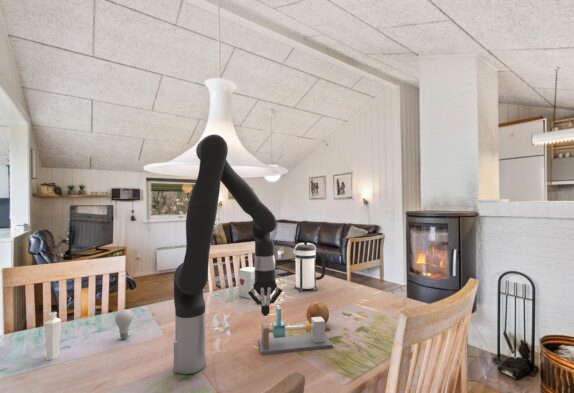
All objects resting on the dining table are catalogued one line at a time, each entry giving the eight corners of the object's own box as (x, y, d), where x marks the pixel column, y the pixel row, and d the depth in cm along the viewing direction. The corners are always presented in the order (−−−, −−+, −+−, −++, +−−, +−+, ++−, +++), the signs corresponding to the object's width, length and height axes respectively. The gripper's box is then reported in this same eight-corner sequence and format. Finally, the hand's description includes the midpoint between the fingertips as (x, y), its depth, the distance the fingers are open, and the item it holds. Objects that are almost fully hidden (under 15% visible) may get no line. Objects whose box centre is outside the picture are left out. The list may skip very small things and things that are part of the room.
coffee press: (312, 294, 167) (312, 241, 167) (288, 290, 175) (288, 239, 176) (325, 287, 181) (325, 238, 182) (303, 283, 190) (302, 236, 190)
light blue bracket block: (274, 338, 106) (274, 309, 106) (272, 332, 110) (272, 305, 110) (285, 337, 107) (284, 308, 107) (283, 332, 111) (283, 304, 111)
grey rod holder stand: (260, 354, 102) (260, 329, 102) (258, 341, 112) (258, 318, 112) (332, 347, 107) (332, 323, 107) (324, 335, 117) (324, 313, 117)
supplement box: (238, 296, 165) (238, 269, 165) (249, 291, 172) (249, 266, 172) (250, 299, 160) (250, 271, 160) (261, 294, 167) (261, 268, 167)
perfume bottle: (57, 359, 99) (58, 314, 100) (42, 361, 98) (42, 316, 98) (63, 352, 104) (64, 309, 104) (49, 354, 103) (49, 311, 103)
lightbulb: (129, 341, 112) (129, 312, 112) (112, 343, 111) (112, 313, 111) (135, 334, 118) (135, 306, 118) (118, 335, 117) (118, 307, 117)
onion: (310, 319, 132) (310, 297, 132) (332, 323, 128) (332, 300, 128) (302, 327, 123) (302, 303, 124) (325, 332, 119) (325, 307, 119)
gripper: (247, 271, 103) (247, 320, 103) (284, 268, 105) (285, 317, 105) (246, 266, 110) (246, 312, 110) (281, 264, 113) (281, 309, 113)
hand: (265, 315), depth 108 cm, fingers closed
